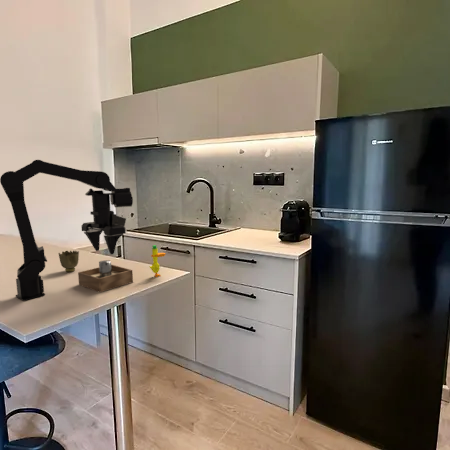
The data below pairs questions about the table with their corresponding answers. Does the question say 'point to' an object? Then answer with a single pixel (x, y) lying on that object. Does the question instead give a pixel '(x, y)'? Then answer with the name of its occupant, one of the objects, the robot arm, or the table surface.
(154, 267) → the toy figure
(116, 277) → the walnut box
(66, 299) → the table surface
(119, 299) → the table surface
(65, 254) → the cup
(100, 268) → the metal peg
